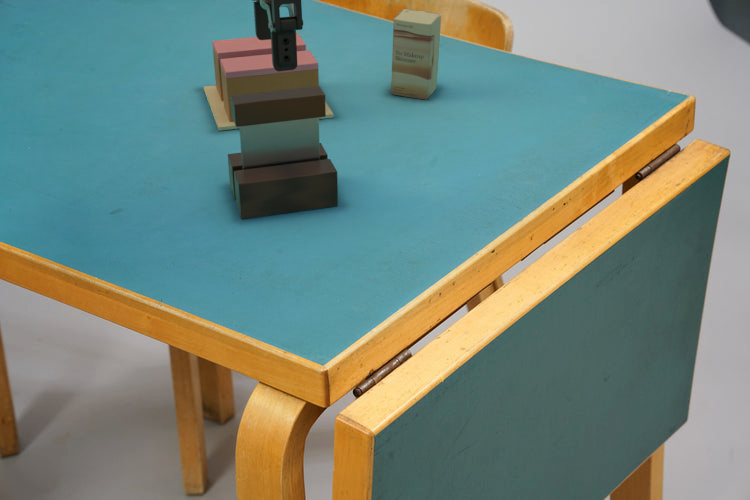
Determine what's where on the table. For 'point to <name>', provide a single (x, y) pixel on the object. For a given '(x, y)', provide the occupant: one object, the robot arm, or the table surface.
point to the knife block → (283, 186)
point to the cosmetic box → (415, 53)
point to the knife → (279, 126)
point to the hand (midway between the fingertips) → (276, 53)
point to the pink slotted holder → (254, 74)
